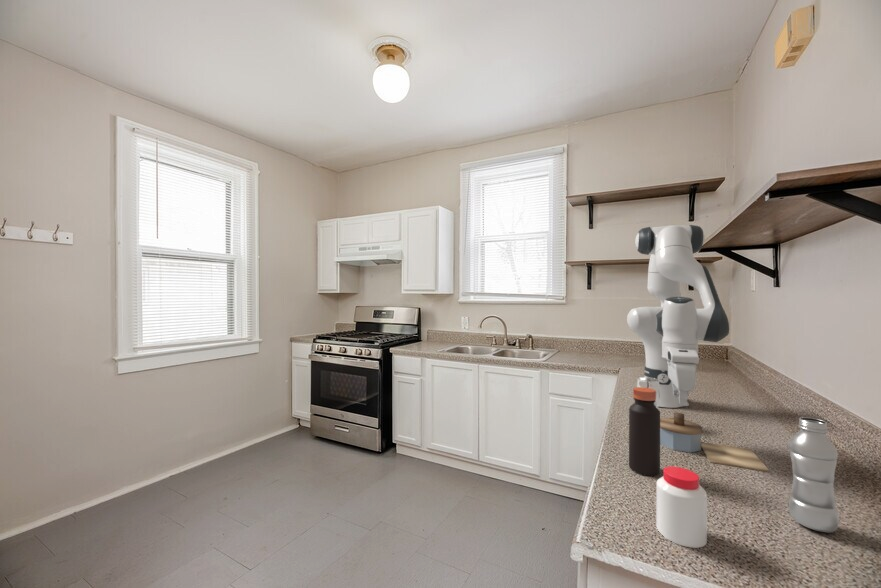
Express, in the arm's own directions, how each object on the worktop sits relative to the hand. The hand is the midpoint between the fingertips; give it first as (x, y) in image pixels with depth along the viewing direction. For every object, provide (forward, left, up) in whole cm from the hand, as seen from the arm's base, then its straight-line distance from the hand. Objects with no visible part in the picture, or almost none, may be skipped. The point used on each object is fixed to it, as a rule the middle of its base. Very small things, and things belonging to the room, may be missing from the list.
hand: (679, 400), depth 107 cm
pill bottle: (+47, -7, -13) cm, 49 cm away
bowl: (0, 0, -13) cm, 13 cm away
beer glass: (-17, -7, -13) cm, 23 cm away
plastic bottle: (+34, +16, -13) cm, 40 cm away
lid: (0, 0, -8) cm, 8 cm away
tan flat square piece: (+3, +11, -13) cm, 17 cm away
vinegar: (+22, -11, -13) cm, 27 cm away
